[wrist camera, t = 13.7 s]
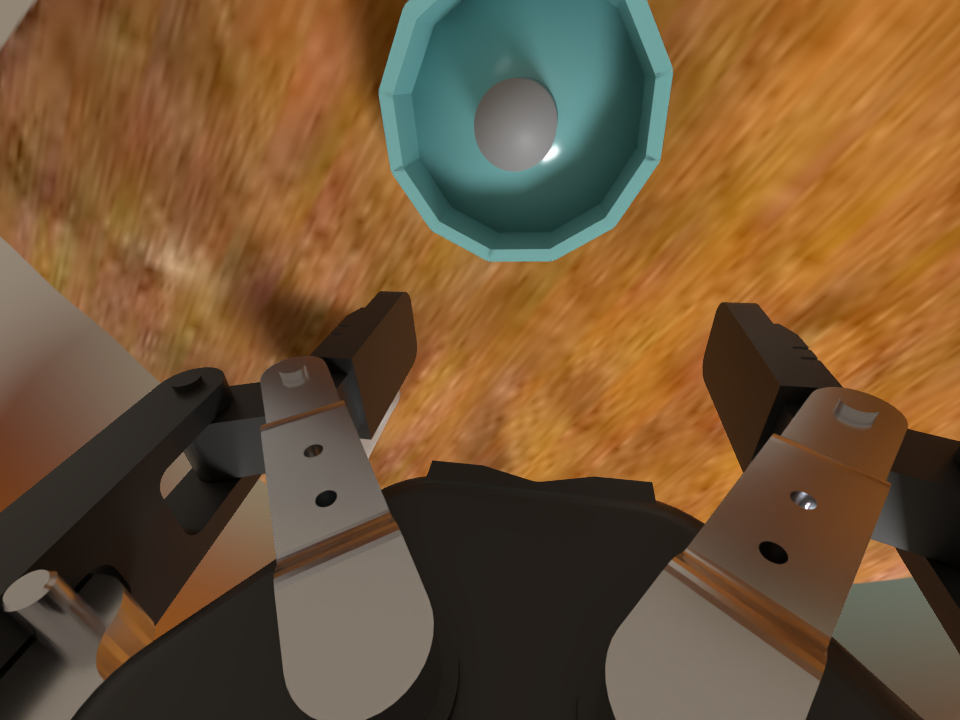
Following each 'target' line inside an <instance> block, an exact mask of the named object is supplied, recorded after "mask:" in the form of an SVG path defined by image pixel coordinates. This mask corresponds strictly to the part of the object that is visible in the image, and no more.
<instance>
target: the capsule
mask: <svg viewBox="0 0 960 720" xmlns="http://www.w3.org/2000/svg"><path fill="white" fill-rule="evenodd" d="M557 122H558V110H557V105H556V101H555V99H554V97H553V95H552V93H551V92H550V90H549V89H548V88H547V87H546V86H545V85H544V84H542V83H541V82H539V81H537V80H535V79H532V78H527V77H521V78H510V79H506V80H503V81H501V82H499V83H497V84H495V85H494V86H492V87H491V88H490V89H489V90H488V91H487V92H486V93H485V95H484V96H483V98H482V99H481V101H480V103H479V105H478V107H477V110H476V114H475V119H474V133H475V139H476V142H477V145H478V147H479V149H480V151H481V153H482V154H483V156H484V157H485V158H486V159H487V160H488V161H489V162H490V163H491V164H492V165H494V166H495V167H497V168H499V169H502V170H505V171H510V172H517V171H523V170H527V169H529V168H531V167H533V166H535V165H536V164H538V163H539V162H540V161H541V160H542V159H543V158H544V157H545V156H546V155H547V153H548V152H549V150H550V149H551V147H552V144H553V142H554V139H555V135H556V130H557Z"/></svg>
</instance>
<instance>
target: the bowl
mask: <svg viewBox="0 0 960 720" xmlns="http://www.w3.org/2000/svg"><path fill="white" fill-rule="evenodd" d="M404 6H405V7H406V8H405V7H403V10H402V13H401V17H400V20H399V23H398V27H397V30H396V34H395V37H394V40H393V44H392V47H391V51H390V54H389V57H388V61H387V64H386V67H385V71H384V74H383V78H382V81H381V84H380V88H379V92H381V93H378V94H379V100H380V106H381V112H382V119H383V125H384V131H385V137H386V144H387V150H388V156H389V162H390V168H391V171H393V172H392V174H393V176H394V177H395V178H396V180H397V181H398V183H399V184H400V186H401V187H402V189H403V190H404V192H405V193H406V194H407V196H408V197H409V199H410V200H411V202H412V203H413V205H414V206H415V208H416V209H417V210H418V212H419V213H420V215H421V216H422V218H423V219H424V221H425V222H426V224H427V225H428V226H429V228H430V229H431V230H432V229H433V230H432V231H433V232H435V233H437V234H438V235H440V236H442V237H444V238H446V239H448V240H450V241H451V242H453V243H455V244H457V245H459V246H461V247H462V248H464V249H466V250H468V251H470V252H472V253H474V254H475V255H477V256H479V257H481V258H483V259H485V260H487V261H488V260H489V262H490V261H552V260H553V261H554V260H556V259H558V258H559V257H561V256H563V255H565V254H567V253H569V252H570V251H572V250H574V249H576V248H578V247H580V246H582V245H583V244H585V243H587V242H589V241H591V240H593V239H594V238H596V237H598V236H600V235H602V234H604V233H605V232H607V231H609V230H611V229H613V228H614V227H615V226H616V224H617V223H618V222H619V220H620V219H621V217H622V216H623V214H624V213H625V211H626V210H627V209H628V207H629V206H630V204H631V203H632V201H633V200H634V198H635V197H636V195H637V194H638V193H639V191H640V190H641V188H642V187H643V185H644V184H645V182H646V181H647V180H648V178H649V177H650V175H651V174H652V172H653V171H654V169H655V168H656V166H657V165H658V164H659V162H660V161H659V160H661V153H662V146H663V139H664V132H665V125H666V118H667V111H668V104H669V97H670V90H671V83H672V76H673V71H671V70H673V68H672V65H671V63H670V60H669V57H668V55H667V52H666V49H665V47H664V44H663V42H662V39H661V36H660V34H659V31H658V28H657V26H656V23H655V21H654V18H653V15H652V13H651V10H650V8H649V5H648V2H647V0H409V1H408V2H407V3H406V4H405V5H404ZM521 77H527V78H532V79H535V80H537V81H539V82H541V83H542V84H544V85H545V86H546V87H547V88H548V89H549V90H550V92H551V93H552V95H553V97H554V99H555V101H556V105H557V110H558V122H557V130H556V135H555V139H554V142H553V144H552V147H551V149H550V150H549V152H548V153H547V155H546V156H545V157H544V158H543V159H542V160H541V161H540V162H539V163H538V164H536V165H535V166H533V167H531V168H529V169H527V170H523V171H517V172H510V171H505V170H502V169H499V168H497V167H495V166H494V165H492V164H491V163H490V162H489V161H488V160H487V159H486V158H485V157H484V156H483V154H482V153H481V151H480V149H479V147H478V145H477V142H476V139H475V133H474V119H475V114H476V110H477V107H478V105H479V103H480V101H481V99H482V98H483V96H484V95H485V93H486V92H487V91H488V90H489V89H490V88H491V87H492V86H494V85H495V84H497V83H499V82H501V81H503V80H506V79H510V78H521ZM613 226H614V227H613Z"/></svg>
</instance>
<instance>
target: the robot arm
mask: <svg viewBox="0 0 960 720" xmlns="http://www.w3.org/2000/svg"><path fill="white" fill-rule="evenodd" d="M808 348H809V347H808V346H807V345H806V344H805V343H804V342H803V340H802V339H801V338H800V337H799V336H798V335H797V334H795V333H794V332H792V331H790V330H788V329H787V328H785V327H783V326H782V325H780V324H773V323H772V321H771V320H770V319H769V318H768V316H767V315H766V314H765V313H764V311H763V310H762V309H761V308H760V306H759V305H758V304H756V303H728V302H722V303H721V304H720V305H719V306H718V308H717V311H716V314H715V318H714V321H713V325H712V329H711V332H710V336H709V340H708V344H707V347H706V351H705V355H704V359H703V378H704V382H705V384H706V386H707V389H708V391H709V393H710V396H711V398H712V400H713V403H714V405H715V408H716V410H717V412H718V415H719V417H720V419H721V422H722V424H723V426H724V429H725V431H726V433H727V436H728V438H729V440H730V443H731V445H732V447H733V450H734V452H735V454H736V457H737V459H738V461H739V464H740V466H741V469H742V471H743V474H742V476H741V477H740V478H739V480H738V481H737V482H736V484H735V485H734V486H733V488H732V489H731V490H730V491H729V493H728V494H727V495H726V497H725V498H724V499H723V501H722V502H721V503H720V505H719V506H718V507H717V509H716V510H715V511H714V513H713V514H712V515H711V517H710V518H709V519H708V521H707V522H706V523H705V524H704V523H702V522H701V521H699V520H697V519H696V518H694V517H693V516H691V515H689V514H687V513H685V512H683V511H681V510H679V509H677V508H675V507H672V506H670V505H667V504H665V503H662V502H659V501H656V500H655V494H654V489H653V484H652V482H643V481H633V480H623V479H613V478H603V477H586V478H576V479H566V480H556V481H545V482H535V481H531V480H527V479H524V478H521V477H518V476H515V475H511V474H508V473H505V472H502V471H499V470H496V469H492V468H489V467H486V466H482V465H472V464H462V463H452V462H442V461H432V463H431V466H430V469H429V472H428V474H427V476H425V477H418V478H413V479H408V480H405V481H402V482H399V483H396V484H393V485H391V486H388V487H386V488H384V489H382V490H381V489H380V487H379V484H378V482H377V479H376V477H375V474H374V472H373V470H372V467H371V465H370V462H369V460H368V457H367V455H366V453H365V450H364V448H363V445H362V443H361V440H360V439H369V440H372V438H373V436H374V434H375V432H376V430H377V429H378V427H379V425H380V423H381V421H382V420H383V418H384V416H385V414H386V412H387V411H388V409H389V407H390V405H391V403H392V402H393V400H394V398H395V396H396V394H397V393H398V391H399V389H400V387H401V385H402V384H403V382H404V380H405V378H406V376H407V375H408V373H409V371H410V369H411V367H412V366H413V364H414V362H415V358H416V353H417V341H416V334H415V327H414V320H413V313H412V306H411V300H410V297H409V294H408V293H407V292H388V291H380V292H379V293H378V294H377V295H376V296H375V297H374V298H373V299H372V300H371V302H370V303H369V304H368V305H367V306H366V307H365V308H360V309H358V310H357V311H355V312H353V313H351V314H349V315H347V316H346V317H345V319H344V320H343V321H342V322H341V323H340V324H339V325H338V327H336V328H335V329H334V330H333V331H332V332H331V335H328V337H327V338H326V339H325V340H324V341H323V342H322V343H321V344H320V345H319V346H318V347H317V348H316V349H315V350H314V351H313V352H312V354H311V355H310V356H298V357H293V358H289V359H286V360H283V361H280V362H278V363H276V364H274V365H273V366H271V367H270V368H268V369H267V370H266V371H265V372H264V373H263V374H262V376H261V379H260V382H258V383H250V384H242V385H235V386H229V384H228V382H227V380H226V377H225V375H224V373H223V372H222V371H221V370H219V369H217V368H210V367H206V368H197V369H192V370H188V371H185V372H182V373H179V374H177V375H174V376H172V377H170V378H168V379H167V380H165V381H164V382H162V383H161V384H160V385H158V386H157V387H156V388H154V389H153V390H152V391H151V392H149V393H148V394H147V395H146V396H145V397H143V398H142V399H141V400H140V401H138V402H137V403H136V404H135V405H134V406H132V407H131V408H130V409H128V410H127V411H126V412H125V413H123V414H122V415H121V416H120V417H118V418H117V419H116V420H115V421H114V422H112V423H111V424H110V425H109V426H107V427H106V428H105V429H104V430H102V431H101V432H100V433H99V434H97V435H96V436H95V437H94V438H92V439H91V440H90V441H89V442H87V443H86V444H85V445H84V446H83V447H81V448H80V449H79V450H78V451H76V452H75V453H74V454H73V455H71V456H70V457H69V458H68V459H66V460H65V461H64V462H63V463H61V464H60V465H59V466H58V467H57V468H55V469H54V470H53V471H52V472H50V473H49V474H48V475H47V476H45V477H44V478H43V479H42V480H40V481H39V482H38V483H37V484H35V485H34V486H33V487H32V488H31V489H29V490H28V491H27V492H25V493H24V494H23V495H22V496H20V497H19V498H18V499H17V500H16V501H14V502H13V503H12V504H11V505H9V506H8V507H7V508H6V509H4V510H3V511H2V512H1V513H0V720H924V719H922V718H921V717H920V716H919V715H918V714H917V713H916V712H915V711H914V710H912V709H911V708H910V707H909V706H908V705H907V704H906V703H905V702H904V701H902V700H901V699H900V698H899V697H898V696H897V695H896V694H895V693H894V692H893V691H891V690H890V689H889V688H888V687H887V686H886V685H885V684H884V683H882V681H880V680H879V679H878V678H877V677H876V676H875V675H874V674H873V673H872V672H870V671H869V670H868V669H867V668H866V667H865V666H864V665H863V664H861V662H859V661H858V660H857V659H856V658H855V657H854V656H853V655H852V654H851V653H849V652H848V651H847V650H846V649H845V648H844V647H843V646H842V645H841V644H840V643H838V642H837V641H836V640H835V639H834V638H833V637H832V634H833V632H834V629H835V627H836V624H837V622H838V619H839V617H840V614H841V611H842V609H843V607H844V604H845V601H846V599H847V596H848V594H849V591H850V589H851V586H852V584H853V581H854V579H855V576H856V574H857V571H858V569H859V566H860V564H861V561H862V558H863V556H864V553H865V551H866V548H867V546H868V543H869V541H870V539H873V540H876V541H879V542H882V543H885V544H888V545H891V546H894V547H895V548H896V550H897V552H898V553H899V555H900V557H901V558H902V560H903V562H904V563H905V565H906V567H907V568H908V570H909V571H910V573H911V575H912V576H913V578H914V580H915V581H916V583H917V585H918V586H919V588H920V590H921V591H922V593H923V595H924V596H925V598H926V599H927V601H928V603H929V604H930V606H931V608H932V609H933V611H934V613H935V614H936V616H937V618H938V619H939V621H940V623H941V624H942V626H943V628H944V629H945V631H946V632H947V634H948V636H949V637H950V639H951V641H952V642H953V644H954V646H955V647H956V649H957V651H958V652H959V654H960V441H956V440H952V439H947V438H943V437H939V436H935V435H931V434H926V433H922V432H918V431H914V430H910V429H907V428H908V423H907V420H906V418H905V417H904V415H903V414H902V413H901V412H900V411H899V410H897V409H896V408H895V407H893V406H892V405H890V404H889V403H887V402H885V401H884V400H882V399H879V398H877V397H875V396H873V395H870V394H867V393H864V392H861V391H857V390H853V389H848V388H843V387H842V386H841V384H840V383H839V382H838V381H837V380H836V379H835V378H834V376H833V375H832V374H831V373H830V372H829V371H828V369H827V368H826V367H825V366H824V365H823V364H822V362H821V361H820V360H817V357H816V355H815V354H814V353H813V352H812V351H811V350H808ZM182 452H184V453H185V455H186V457H187V459H188V461H189V462H190V464H191V466H192V469H191V470H190V471H189V472H188V474H187V475H186V476H185V477H184V478H183V479H182V480H181V481H180V482H179V484H178V485H177V486H176V487H175V488H174V489H173V490H172V491H171V493H170V494H169V495H168V496H167V497H166V498H165V499H163V497H162V495H161V493H160V482H161V478H162V476H163V474H164V472H165V470H166V469H167V468H168V467H169V466H170V465H171V464H172V463H173V462H174V461H175V459H177V457H178V456H179V455H180V454H181V453H182ZM265 473H266V479H267V487H268V495H269V503H270V510H271V519H272V527H273V535H274V543H275V551H276V559H275V560H274V561H272V562H271V563H269V564H268V565H266V566H265V567H263V568H262V569H260V570H259V571H258V572H256V573H254V574H253V575H252V576H250V577H249V578H247V579H245V580H244V581H242V582H241V583H240V584H238V585H236V586H235V587H233V588H232V589H230V590H229V591H227V592H226V593H225V594H223V595H222V596H220V597H219V598H217V599H215V600H214V601H212V602H211V603H210V604H208V605H206V606H205V607H203V608H202V609H201V610H199V611H198V612H196V613H195V614H193V615H192V616H190V617H189V618H187V619H186V620H184V621H183V622H181V623H180V624H178V625H177V626H175V627H174V628H172V629H171V630H169V631H168V632H167V633H165V634H163V635H162V636H160V637H159V638H157V639H156V640H154V636H155V626H156V624H157V623H158V621H159V620H160V618H161V617H162V616H163V614H164V613H165V611H166V610H167V608H168V607H169V606H170V604H171V603H172V601H173V600H174V598H175V597H176V596H177V594H178V593H179V591H180V590H181V588H182V587H183V586H184V584H185V583H186V582H187V580H188V579H189V577H190V576H191V574H192V573H193V571H194V570H195V568H196V567H197V566H198V564H199V563H200V562H201V560H202V559H203V557H204V556H205V554H206V553H207V552H208V550H209V549H210V547H211V546H212V545H213V543H214V542H215V540H216V539H217V537H218V536H219V535H220V533H221V532H222V530H223V529H224V527H225V526H226V525H227V523H228V522H229V520H230V519H231V517H232V516H233V514H234V513H235V512H236V510H237V509H238V508H239V506H240V505H241V503H242V502H243V500H244V499H245V498H246V496H247V495H248V493H249V492H250V490H251V489H252V488H253V486H254V485H255V483H256V482H257V480H258V479H259V478H260V476H261V474H265ZM153 640H154V641H153Z"/></svg>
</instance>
